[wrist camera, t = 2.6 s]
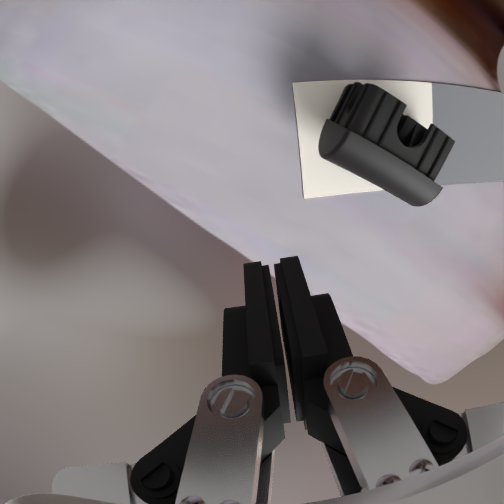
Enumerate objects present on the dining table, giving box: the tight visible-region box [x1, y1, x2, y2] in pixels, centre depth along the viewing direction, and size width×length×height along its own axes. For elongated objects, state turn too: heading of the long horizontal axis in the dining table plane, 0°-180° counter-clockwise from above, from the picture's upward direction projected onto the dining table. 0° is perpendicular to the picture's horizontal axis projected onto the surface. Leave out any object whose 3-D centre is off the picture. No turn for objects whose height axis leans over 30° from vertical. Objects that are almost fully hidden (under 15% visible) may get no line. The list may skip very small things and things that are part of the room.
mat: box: [432, 83, 504, 185], centre depth 26 cm, size 11×16×1 cm
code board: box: [292, 80, 433, 199], centre depth 27 cm, size 11×14×1 cm
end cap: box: [318, 82, 455, 206], centre depth 24 cm, size 10×7×7 cm
